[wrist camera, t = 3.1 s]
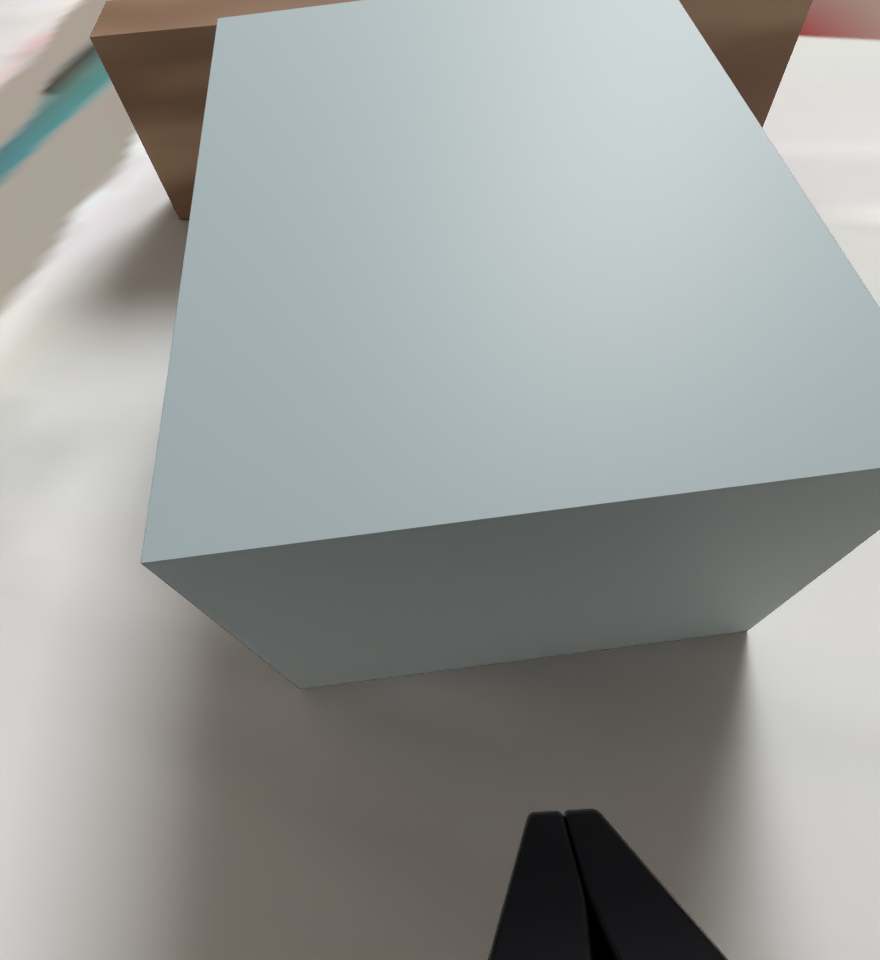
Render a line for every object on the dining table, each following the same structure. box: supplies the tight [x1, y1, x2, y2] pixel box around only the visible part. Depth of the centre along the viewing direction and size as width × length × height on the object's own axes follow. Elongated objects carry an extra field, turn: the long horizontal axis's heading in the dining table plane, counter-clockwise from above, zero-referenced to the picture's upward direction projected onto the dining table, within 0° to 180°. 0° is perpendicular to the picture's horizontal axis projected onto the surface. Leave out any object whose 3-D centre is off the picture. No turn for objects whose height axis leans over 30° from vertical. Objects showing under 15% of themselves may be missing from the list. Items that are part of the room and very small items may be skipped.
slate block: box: [141, 0, 880, 689], centre depth 17 cm, size 16×12×9 cm
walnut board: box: [90, 0, 813, 219], centre depth 24 cm, size 2×24×7 cm, turn 93°
